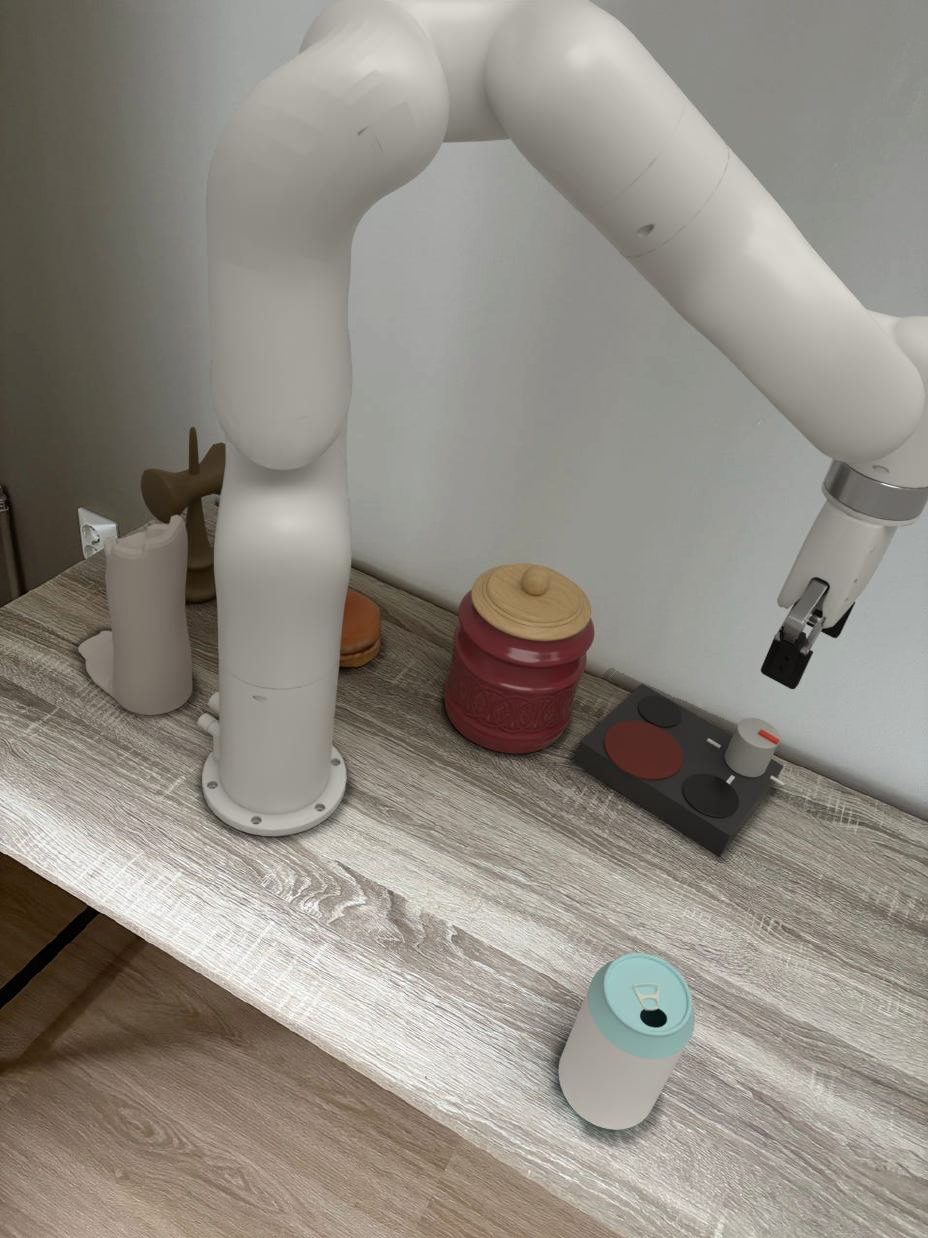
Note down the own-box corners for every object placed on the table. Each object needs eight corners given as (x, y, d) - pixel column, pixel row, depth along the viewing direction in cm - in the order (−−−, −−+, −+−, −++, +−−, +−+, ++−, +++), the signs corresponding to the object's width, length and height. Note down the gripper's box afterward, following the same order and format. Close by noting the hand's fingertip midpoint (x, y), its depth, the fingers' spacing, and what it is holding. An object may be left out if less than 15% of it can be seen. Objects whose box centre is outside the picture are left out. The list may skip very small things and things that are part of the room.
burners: (588, 749, 92) (589, 747, 92) (650, 690, 100) (650, 688, 100) (719, 832, 86) (720, 830, 86) (773, 762, 95) (774, 760, 94)
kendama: (250, 587, 109) (252, 426, 97) (177, 622, 103) (170, 453, 90) (215, 563, 112) (213, 402, 99) (142, 594, 105) (131, 427, 93)
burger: (390, 666, 102) (395, 631, 99) (301, 676, 99) (303, 641, 96) (367, 608, 109) (370, 574, 106) (283, 616, 106) (284, 581, 103)
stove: (573, 762, 95) (580, 739, 93) (642, 697, 104) (649, 674, 102) (730, 864, 88) (742, 841, 86) (789, 784, 97) (801, 762, 95)
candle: (120, 622, 101) (105, 451, 89) (208, 691, 95) (204, 518, 83) (57, 652, 96) (32, 476, 84) (145, 726, 90) (131, 548, 78)
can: (672, 1089, 70) (723, 998, 63) (612, 1156, 66) (659, 1067, 59) (598, 1018, 74) (638, 924, 67) (536, 1078, 70) (571, 984, 62)
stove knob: (717, 761, 93) (731, 729, 91) (735, 740, 96) (749, 709, 93) (755, 784, 92) (770, 752, 89) (772, 762, 94) (787, 730, 92)
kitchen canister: (594, 731, 99) (638, 592, 88) (490, 774, 92) (525, 629, 81) (518, 654, 106) (550, 518, 96) (417, 689, 100) (440, 546, 89)
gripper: (868, 432, 82) (798, 594, 93) (787, 502, 71) (718, 678, 81) (957, 467, 79) (874, 631, 89) (887, 547, 67) (802, 725, 78)
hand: (800, 654), depth 85 cm, fingers open, 9 cm apart
